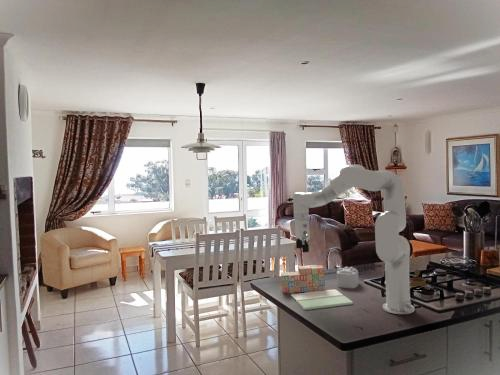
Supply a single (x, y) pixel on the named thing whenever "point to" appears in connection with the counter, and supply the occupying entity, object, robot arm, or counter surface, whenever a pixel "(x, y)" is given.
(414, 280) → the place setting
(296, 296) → the cream mat
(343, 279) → the grey animal paw
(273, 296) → the counter surface
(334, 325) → the counter surface
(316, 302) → the sage mat
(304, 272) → the stack of blocks
